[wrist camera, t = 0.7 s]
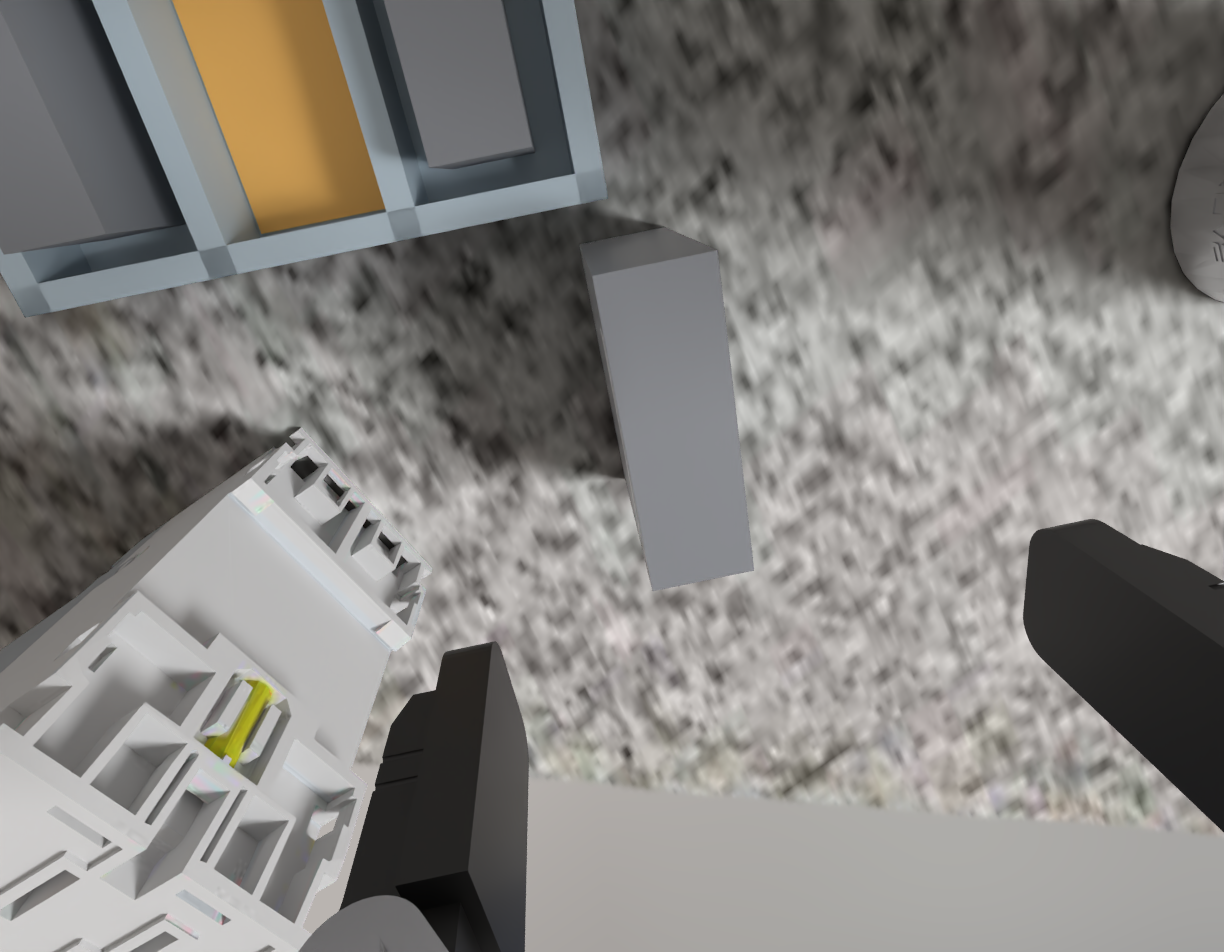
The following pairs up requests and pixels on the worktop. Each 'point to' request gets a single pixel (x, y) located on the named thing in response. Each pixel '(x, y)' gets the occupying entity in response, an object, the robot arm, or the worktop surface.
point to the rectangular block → (672, 401)
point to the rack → (274, 133)
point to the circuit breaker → (201, 721)
